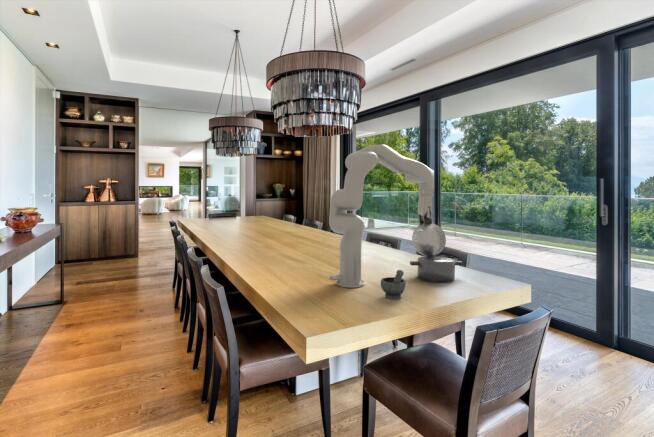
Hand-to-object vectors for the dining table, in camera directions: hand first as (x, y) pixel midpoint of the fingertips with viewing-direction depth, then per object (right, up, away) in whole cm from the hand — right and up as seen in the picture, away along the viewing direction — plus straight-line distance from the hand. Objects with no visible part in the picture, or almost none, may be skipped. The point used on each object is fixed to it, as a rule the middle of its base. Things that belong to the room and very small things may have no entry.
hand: (424, 228), depth 187 cm
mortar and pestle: (-25, -26, -46) cm, 58 cm away
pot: (+1, -24, -16) cm, 28 cm away
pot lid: (0, -4, -7) cm, 8 cm away
